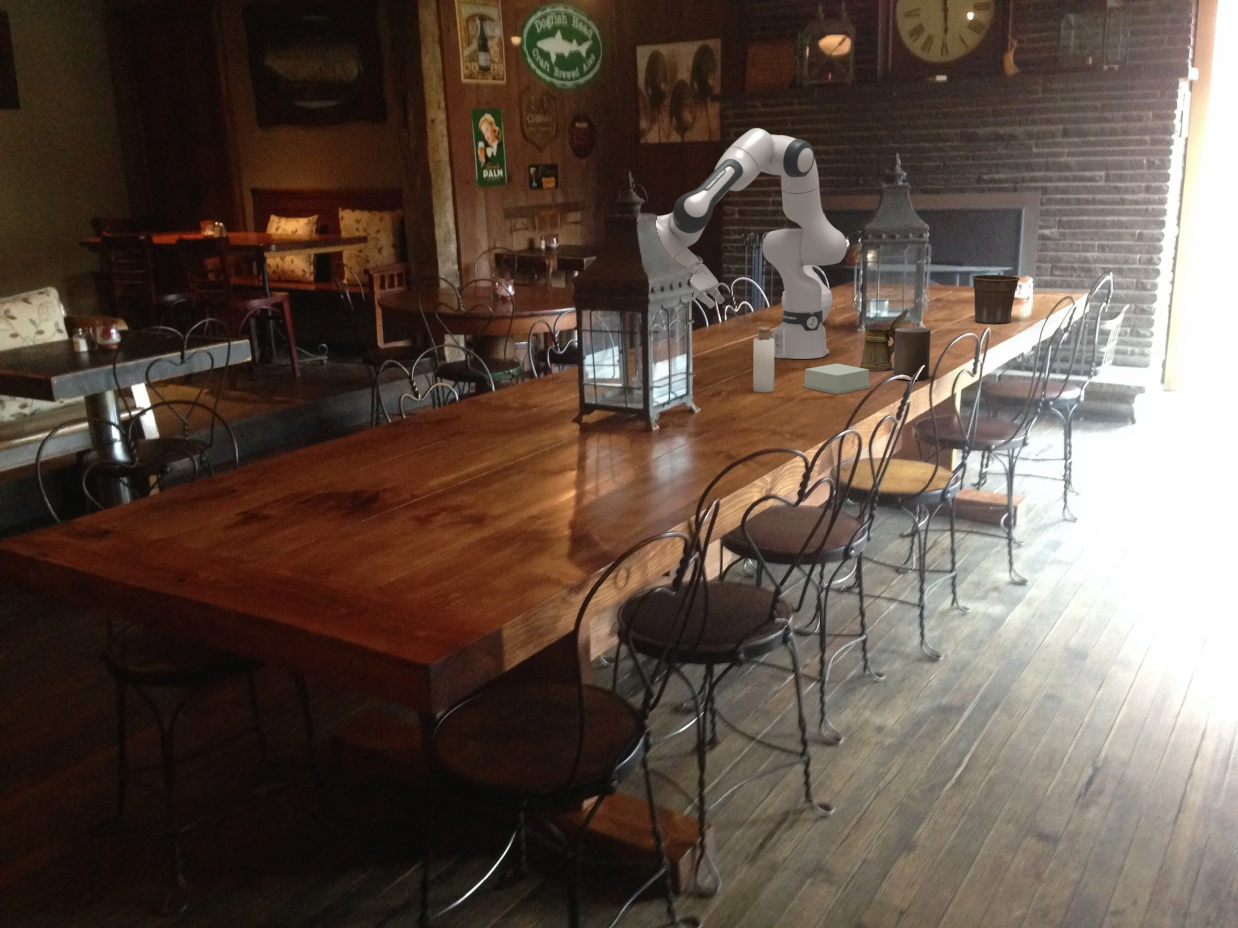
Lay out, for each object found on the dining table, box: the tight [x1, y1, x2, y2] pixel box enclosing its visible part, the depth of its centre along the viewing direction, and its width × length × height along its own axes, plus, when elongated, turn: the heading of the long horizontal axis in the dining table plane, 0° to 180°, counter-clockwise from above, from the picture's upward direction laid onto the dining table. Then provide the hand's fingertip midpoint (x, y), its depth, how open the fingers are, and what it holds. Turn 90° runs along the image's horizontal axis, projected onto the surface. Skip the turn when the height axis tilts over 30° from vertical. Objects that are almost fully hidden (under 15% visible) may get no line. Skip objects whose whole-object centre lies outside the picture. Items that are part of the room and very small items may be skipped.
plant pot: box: [971, 274, 1021, 325], centre depth 403 cm, size 16×16×16 cm
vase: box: [781, 265, 833, 324], centre depth 406 cm, size 18×18×30 cm
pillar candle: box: [893, 324, 931, 381], centre depth 314 cm, size 10×10×15 cm
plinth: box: [802, 362, 871, 395], centre depth 305 cm, size 13×13×5 cm
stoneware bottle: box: [752, 326, 775, 393], centre depth 303 cm, size 6×6×17 cm
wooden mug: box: [859, 308, 909, 372], centre depth 326 cm, size 9×14×18 cm, turn 54°
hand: (718, 304), depth 303 cm, fingers open, 8 cm apart
